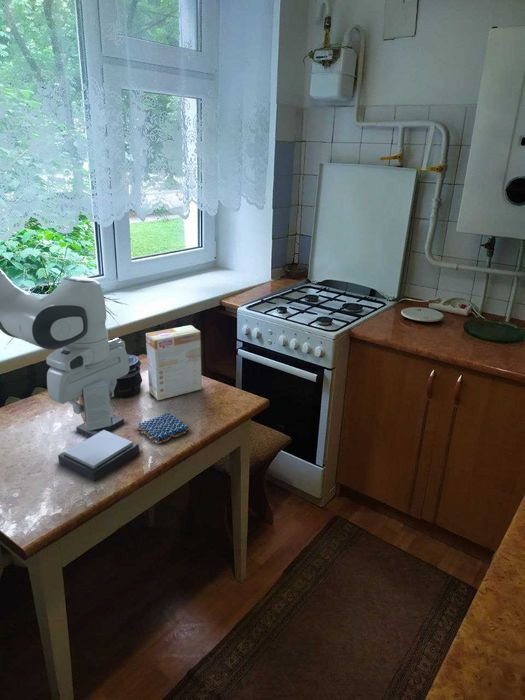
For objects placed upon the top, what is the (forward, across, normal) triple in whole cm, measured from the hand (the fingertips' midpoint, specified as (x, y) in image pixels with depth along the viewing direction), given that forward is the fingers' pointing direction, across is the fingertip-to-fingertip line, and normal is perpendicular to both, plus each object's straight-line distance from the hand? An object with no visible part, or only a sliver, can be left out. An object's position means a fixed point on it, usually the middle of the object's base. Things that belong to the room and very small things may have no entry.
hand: (94, 404), depth 114 cm
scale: (+15, 0, 0) cm, 15 cm away
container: (+15, -29, -23) cm, 40 cm away
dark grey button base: (+15, -10, -11) cm, 21 cm away
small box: (+4, 0, 0) cm, 4 cm away
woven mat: (+15, -18, +4) cm, 24 cm away
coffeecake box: (+15, -38, -9) cm, 42 cm away
